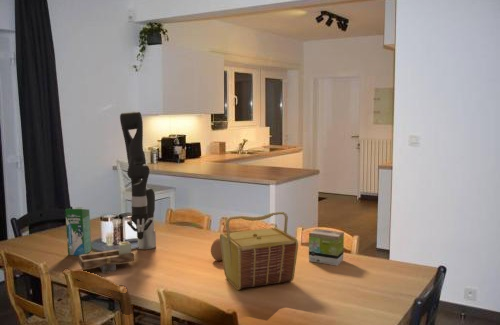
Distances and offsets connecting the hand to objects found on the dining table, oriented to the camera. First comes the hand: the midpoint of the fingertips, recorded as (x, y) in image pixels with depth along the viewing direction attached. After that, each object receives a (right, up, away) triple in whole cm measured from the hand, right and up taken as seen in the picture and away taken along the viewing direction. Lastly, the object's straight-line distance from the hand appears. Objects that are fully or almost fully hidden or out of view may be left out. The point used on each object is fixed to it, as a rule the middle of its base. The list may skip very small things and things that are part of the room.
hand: (140, 239), depth 240 cm
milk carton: (-37, -11, +19) cm, 42 cm away
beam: (-15, -13, -6) cm, 21 cm away
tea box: (+92, -11, -1) cm, 93 cm away
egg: (+39, -11, +2) cm, 41 cm away
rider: (-7, -8, -3) cm, 11 cm away
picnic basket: (+58, -15, -26) cm, 65 cm away
